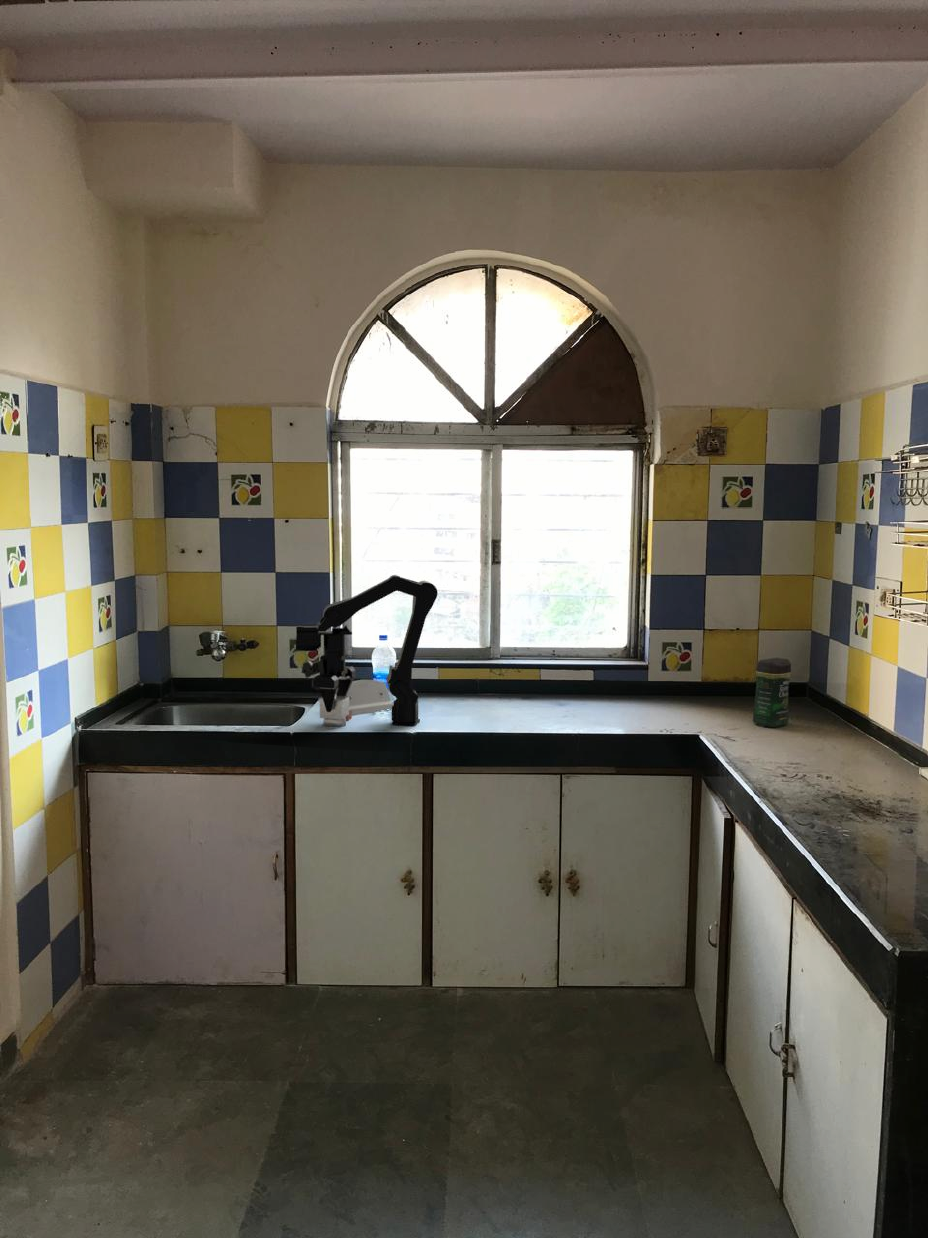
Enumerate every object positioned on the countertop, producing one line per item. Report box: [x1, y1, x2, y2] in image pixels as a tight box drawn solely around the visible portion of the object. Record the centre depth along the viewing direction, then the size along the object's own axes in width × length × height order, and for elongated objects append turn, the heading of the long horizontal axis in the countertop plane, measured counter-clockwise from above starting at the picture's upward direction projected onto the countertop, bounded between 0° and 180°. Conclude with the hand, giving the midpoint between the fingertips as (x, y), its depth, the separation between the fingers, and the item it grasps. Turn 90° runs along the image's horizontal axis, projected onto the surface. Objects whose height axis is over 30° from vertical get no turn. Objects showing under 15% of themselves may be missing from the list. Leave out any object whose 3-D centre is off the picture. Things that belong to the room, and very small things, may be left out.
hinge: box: [336, 679, 394, 716], centre depth 280 cm, size 17×5×10 cm, turn 126°
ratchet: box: [322, 710, 353, 728], centre depth 264 cm, size 6×12×6 cm, turn 168°
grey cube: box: [319, 696, 349, 719], centre depth 261 cm, size 6×6×5 cm
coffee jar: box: [752, 657, 792, 728], centre depth 267 cm, size 10×8×19 cm
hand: (334, 708), depth 261 cm, fingers open, 9 cm apart
